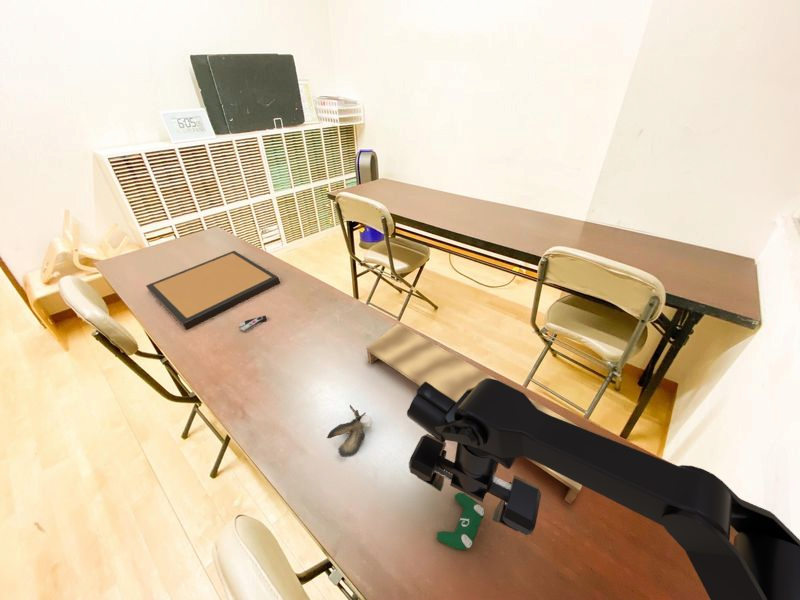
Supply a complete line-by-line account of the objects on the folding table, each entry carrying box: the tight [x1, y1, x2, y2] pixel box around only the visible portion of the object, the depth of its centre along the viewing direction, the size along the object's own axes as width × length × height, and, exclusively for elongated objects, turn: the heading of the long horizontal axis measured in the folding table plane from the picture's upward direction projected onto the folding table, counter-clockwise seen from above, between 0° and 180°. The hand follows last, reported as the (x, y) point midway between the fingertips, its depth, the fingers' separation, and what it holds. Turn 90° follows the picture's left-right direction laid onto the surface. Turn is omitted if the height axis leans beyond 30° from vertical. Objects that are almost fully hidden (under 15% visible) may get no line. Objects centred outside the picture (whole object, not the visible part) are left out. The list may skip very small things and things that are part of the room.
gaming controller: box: [436, 492, 485, 551], centre depth 58 cm, size 9×4×6 cm
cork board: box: [145, 250, 281, 331], centre depth 125 cm, size 36×3×35 cm
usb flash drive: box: [238, 315, 268, 333], centre depth 106 cm, size 9×5×1 cm, turn 115°
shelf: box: [366, 323, 583, 505], centre depth 79 cm, size 56×13×6 cm, turn 48°
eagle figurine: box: [326, 404, 373, 458], centre depth 72 cm, size 8×7×9 cm
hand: (466, 502), depth 53 cm, fingers open, 9 cm apart
